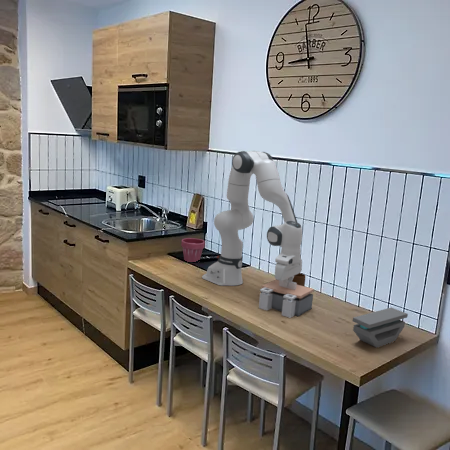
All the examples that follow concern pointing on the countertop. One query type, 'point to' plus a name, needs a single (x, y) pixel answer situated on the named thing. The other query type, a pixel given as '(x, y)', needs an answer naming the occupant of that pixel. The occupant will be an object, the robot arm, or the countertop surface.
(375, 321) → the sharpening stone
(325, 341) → the countertop surface
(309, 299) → the cabinet
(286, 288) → the door
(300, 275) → the mug
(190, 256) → the plant pot
